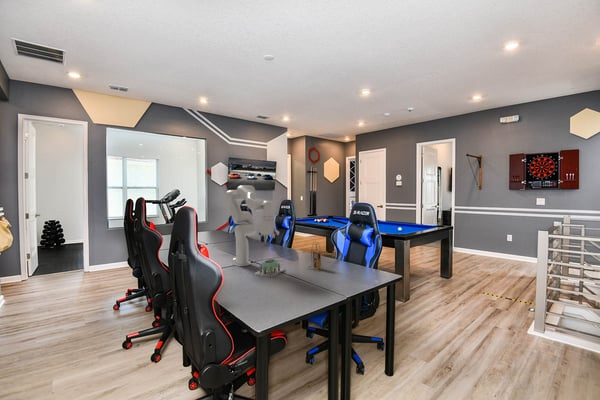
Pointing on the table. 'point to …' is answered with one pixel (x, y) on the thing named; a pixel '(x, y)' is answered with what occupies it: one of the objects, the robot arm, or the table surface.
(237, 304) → the table surface
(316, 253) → the multimeter
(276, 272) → the chassis
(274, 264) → the module
